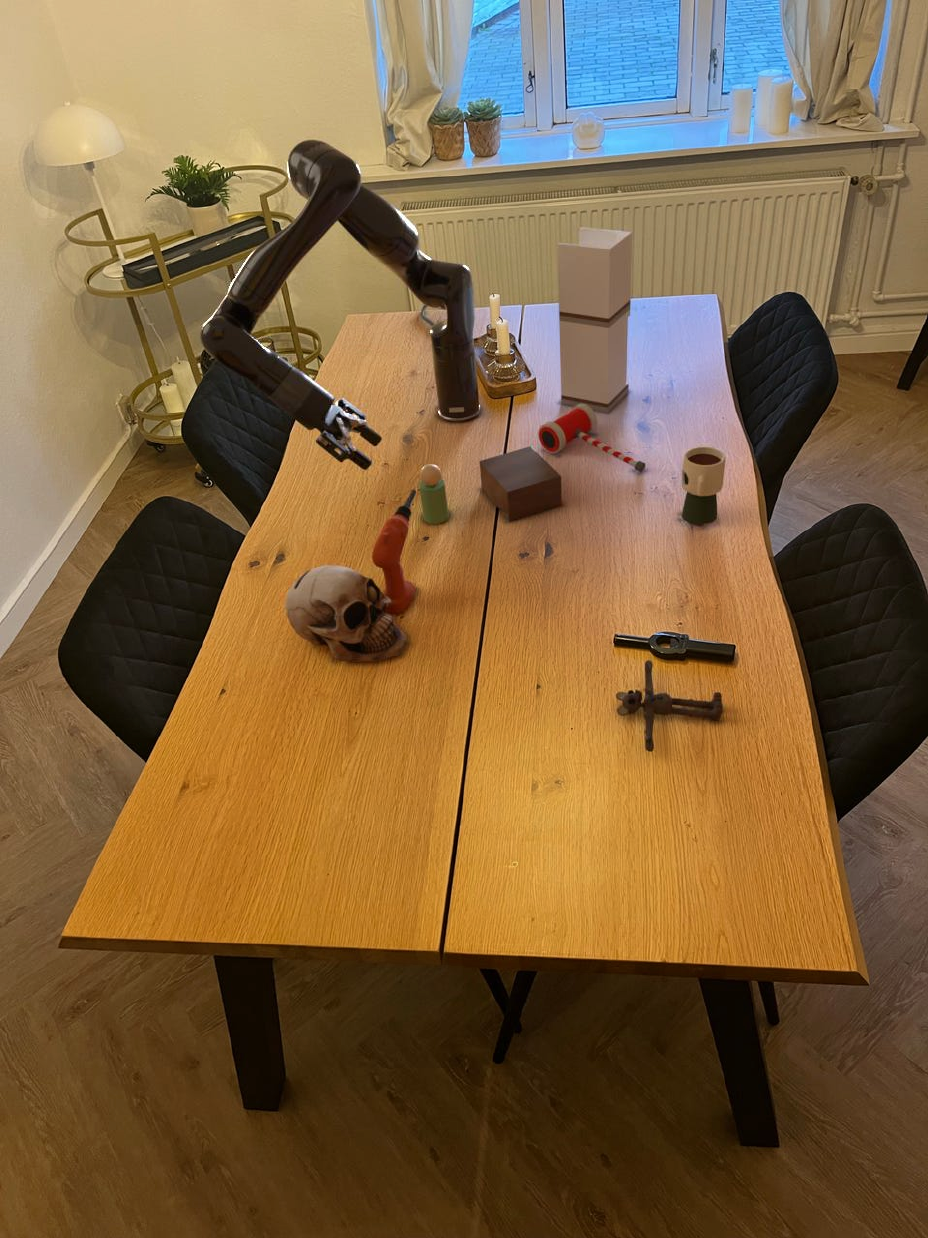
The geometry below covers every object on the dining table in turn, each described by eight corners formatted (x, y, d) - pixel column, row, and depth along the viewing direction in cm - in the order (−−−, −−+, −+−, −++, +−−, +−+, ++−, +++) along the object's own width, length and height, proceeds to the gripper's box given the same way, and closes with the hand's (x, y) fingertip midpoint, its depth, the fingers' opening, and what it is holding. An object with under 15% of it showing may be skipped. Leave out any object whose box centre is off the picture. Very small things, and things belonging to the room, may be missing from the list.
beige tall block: (628, 391, 208) (632, 231, 186) (607, 412, 202) (609, 249, 179) (582, 383, 214) (581, 226, 191) (561, 403, 207) (557, 243, 185)
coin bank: (411, 653, 146) (390, 587, 138) (306, 686, 145) (278, 622, 137) (394, 598, 159) (374, 534, 150) (298, 628, 158) (272, 566, 149)
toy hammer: (661, 459, 185) (662, 431, 181) (624, 484, 179) (624, 455, 175) (574, 426, 198) (574, 399, 194) (537, 448, 193) (536, 420, 189)
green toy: (420, 514, 177) (412, 463, 170) (443, 507, 179) (436, 456, 171) (428, 526, 174) (421, 475, 167) (452, 519, 175) (446, 467, 168)
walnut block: (482, 489, 182) (479, 460, 178) (532, 474, 185) (530, 445, 181) (509, 521, 173) (507, 492, 169) (561, 505, 175) (561, 475, 171)
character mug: (682, 500, 173) (686, 439, 165) (721, 503, 171) (727, 441, 163) (676, 533, 165) (680, 470, 157) (717, 537, 163) (723, 473, 155)
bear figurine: (727, 747, 122) (617, 734, 124) (721, 768, 125) (613, 756, 126) (718, 655, 136) (619, 645, 137) (713, 676, 138) (616, 666, 140)
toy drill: (437, 543, 167) (425, 478, 156) (405, 618, 155) (389, 553, 144) (412, 541, 168) (398, 475, 157) (378, 615, 156) (360, 550, 145)
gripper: (302, 402, 156) (378, 461, 162) (323, 366, 167) (393, 422, 172) (279, 431, 160) (354, 487, 166) (301, 393, 171) (370, 447, 176)
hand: (374, 454), depth 169 cm, fingers open, 8 cm apart
